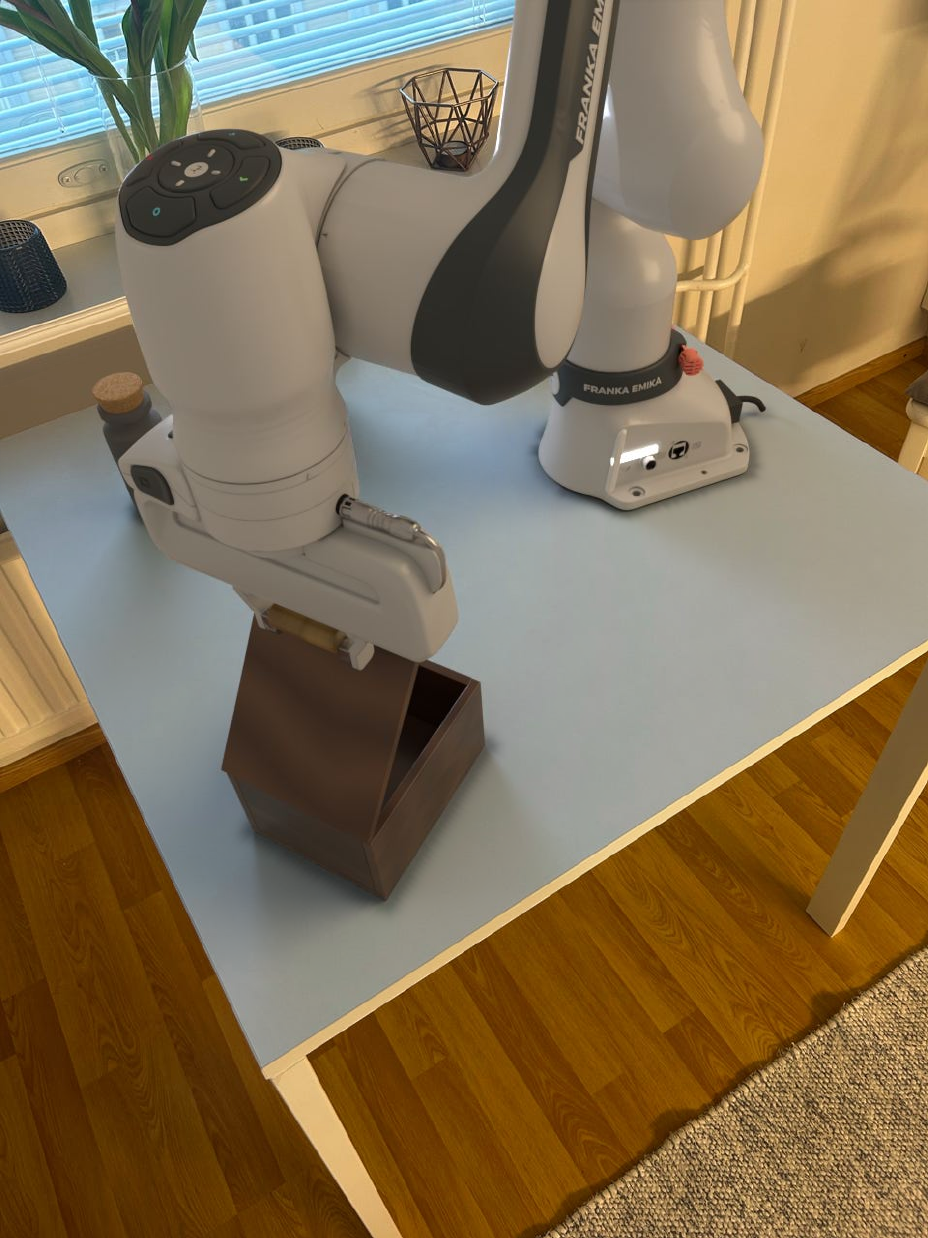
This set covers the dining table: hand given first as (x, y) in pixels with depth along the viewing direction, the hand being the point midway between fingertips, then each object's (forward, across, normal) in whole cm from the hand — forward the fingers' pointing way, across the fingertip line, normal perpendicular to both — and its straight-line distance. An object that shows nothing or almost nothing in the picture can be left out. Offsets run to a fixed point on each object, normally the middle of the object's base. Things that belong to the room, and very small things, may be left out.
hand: (316, 641), depth 60 cm
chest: (+20, 0, -2) cm, 21 cm away
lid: (+5, 0, +1) cm, 5 cm away
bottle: (+20, +39, -21) cm, 49 cm away
